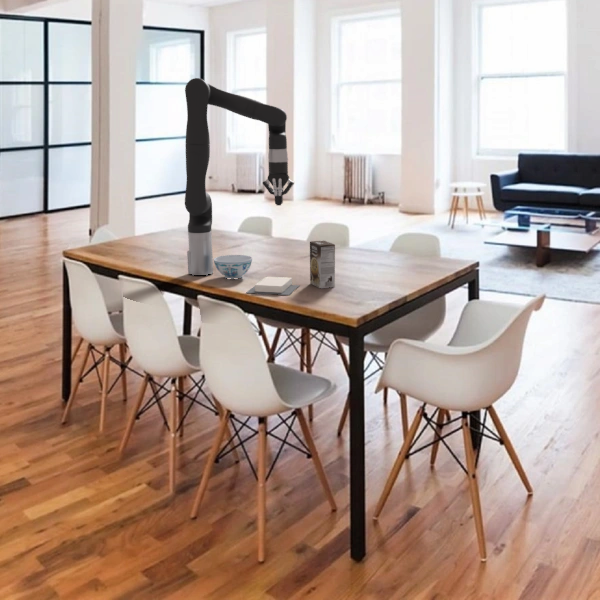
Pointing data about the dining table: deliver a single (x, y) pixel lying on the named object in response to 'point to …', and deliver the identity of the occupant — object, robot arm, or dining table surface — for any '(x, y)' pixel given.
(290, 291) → the rubber mat
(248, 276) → the dining table surface
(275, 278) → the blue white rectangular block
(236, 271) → the chinaware
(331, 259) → the coffee box
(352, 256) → the dining table surface
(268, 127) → the robot arm
